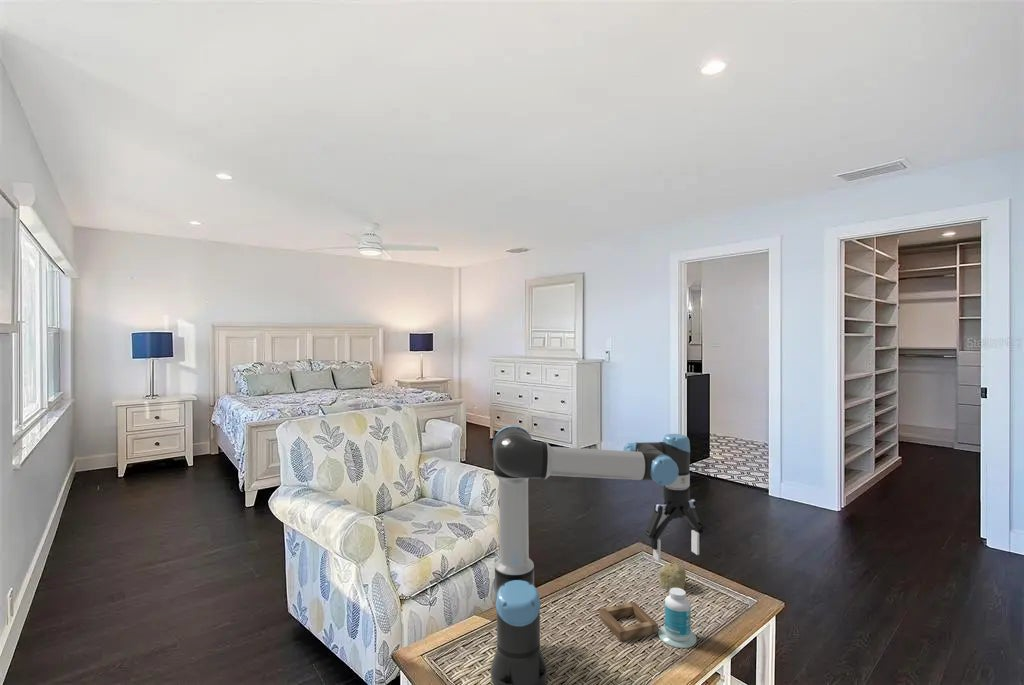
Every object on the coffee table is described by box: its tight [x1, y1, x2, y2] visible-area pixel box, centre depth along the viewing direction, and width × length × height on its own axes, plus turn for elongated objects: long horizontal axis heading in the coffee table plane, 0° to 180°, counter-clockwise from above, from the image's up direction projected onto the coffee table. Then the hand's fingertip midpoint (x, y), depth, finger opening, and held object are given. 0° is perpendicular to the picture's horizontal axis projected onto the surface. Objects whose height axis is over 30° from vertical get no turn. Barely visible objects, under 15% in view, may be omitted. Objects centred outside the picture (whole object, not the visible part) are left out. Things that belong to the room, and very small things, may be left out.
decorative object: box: [658, 562, 687, 592], centre depth 182 cm, size 9×10×10 cm
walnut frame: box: [598, 601, 659, 642], centre depth 158 cm, size 13×13×3 cm
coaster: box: [657, 625, 697, 649], centre depth 152 cm, size 11×11×1 cm
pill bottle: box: [664, 588, 692, 641], centre depth 152 cm, size 8×7×14 cm
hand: (676, 556), depth 152 cm, fingers open, 13 cm apart
